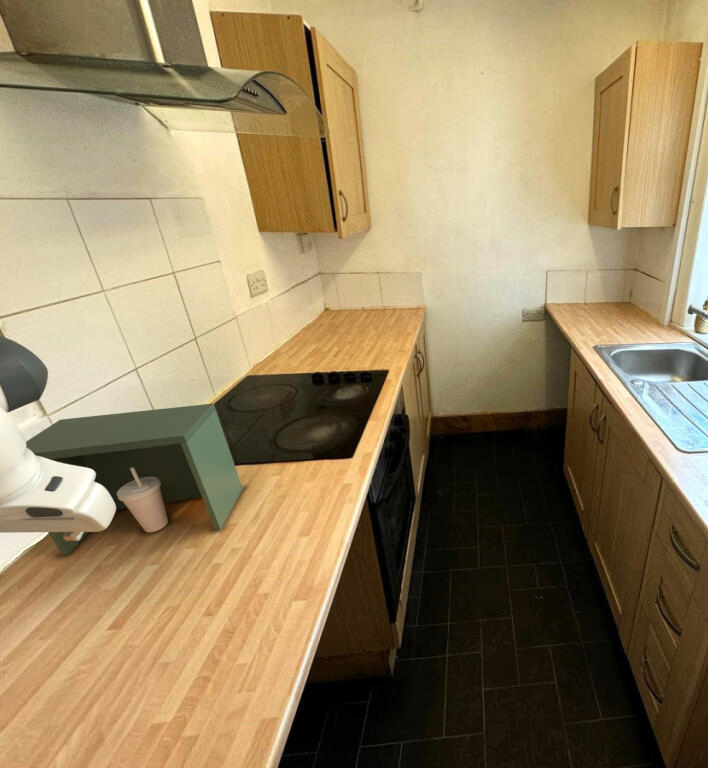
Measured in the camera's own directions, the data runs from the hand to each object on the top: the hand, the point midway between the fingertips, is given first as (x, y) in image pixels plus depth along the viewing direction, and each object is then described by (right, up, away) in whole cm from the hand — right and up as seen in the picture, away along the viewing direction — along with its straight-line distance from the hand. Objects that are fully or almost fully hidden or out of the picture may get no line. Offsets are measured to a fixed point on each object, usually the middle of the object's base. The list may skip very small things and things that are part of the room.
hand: (33, 536), depth 61 cm
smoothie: (0, -6, +22) cm, 22 cm away
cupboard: (-1, -5, +23) cm, 24 cm away
